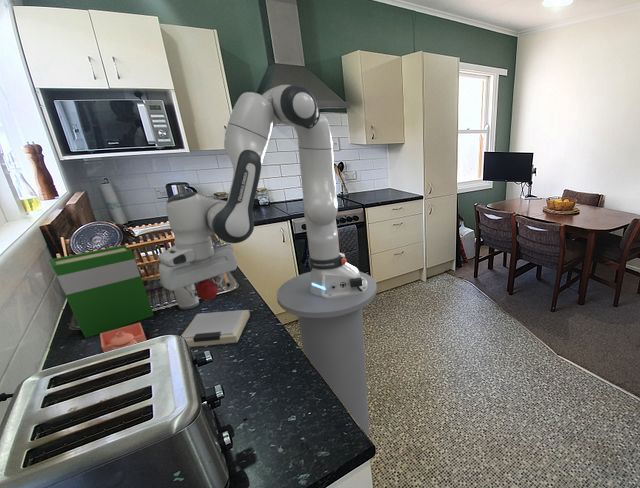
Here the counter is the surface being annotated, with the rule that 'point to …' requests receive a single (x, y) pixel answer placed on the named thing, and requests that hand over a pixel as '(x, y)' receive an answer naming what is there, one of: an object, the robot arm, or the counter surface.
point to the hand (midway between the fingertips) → (206, 292)
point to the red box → (122, 337)
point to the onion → (206, 290)
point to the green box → (103, 289)
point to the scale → (216, 328)
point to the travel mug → (186, 298)
